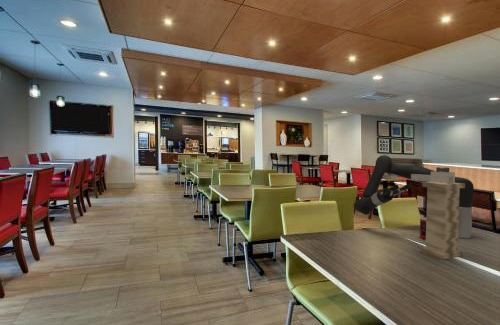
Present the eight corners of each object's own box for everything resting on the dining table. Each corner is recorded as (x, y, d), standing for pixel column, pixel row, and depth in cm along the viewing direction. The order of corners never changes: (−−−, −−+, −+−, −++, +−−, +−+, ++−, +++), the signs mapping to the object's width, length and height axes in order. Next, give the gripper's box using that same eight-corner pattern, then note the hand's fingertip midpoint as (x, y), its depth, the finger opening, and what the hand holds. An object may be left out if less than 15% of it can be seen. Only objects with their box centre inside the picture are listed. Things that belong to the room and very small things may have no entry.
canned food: (431, 237, 152) (431, 217, 152) (439, 241, 144) (440, 220, 144) (416, 236, 153) (417, 217, 152) (424, 240, 145) (425, 220, 145)
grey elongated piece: (417, 179, 140) (417, 166, 139) (454, 183, 123) (455, 167, 123) (408, 180, 137) (409, 166, 137) (446, 183, 121) (446, 168, 120)
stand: (440, 248, 133) (442, 181, 132) (462, 255, 123) (465, 183, 122) (420, 252, 127) (422, 182, 126) (442, 259, 118) (444, 184, 117)
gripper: (369, 191, 155) (391, 179, 142) (388, 190, 161) (410, 179, 148) (374, 204, 152) (397, 192, 139) (393, 202, 157) (416, 191, 144)
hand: (403, 185), depth 143 cm, fingers open, 8 cm apart
